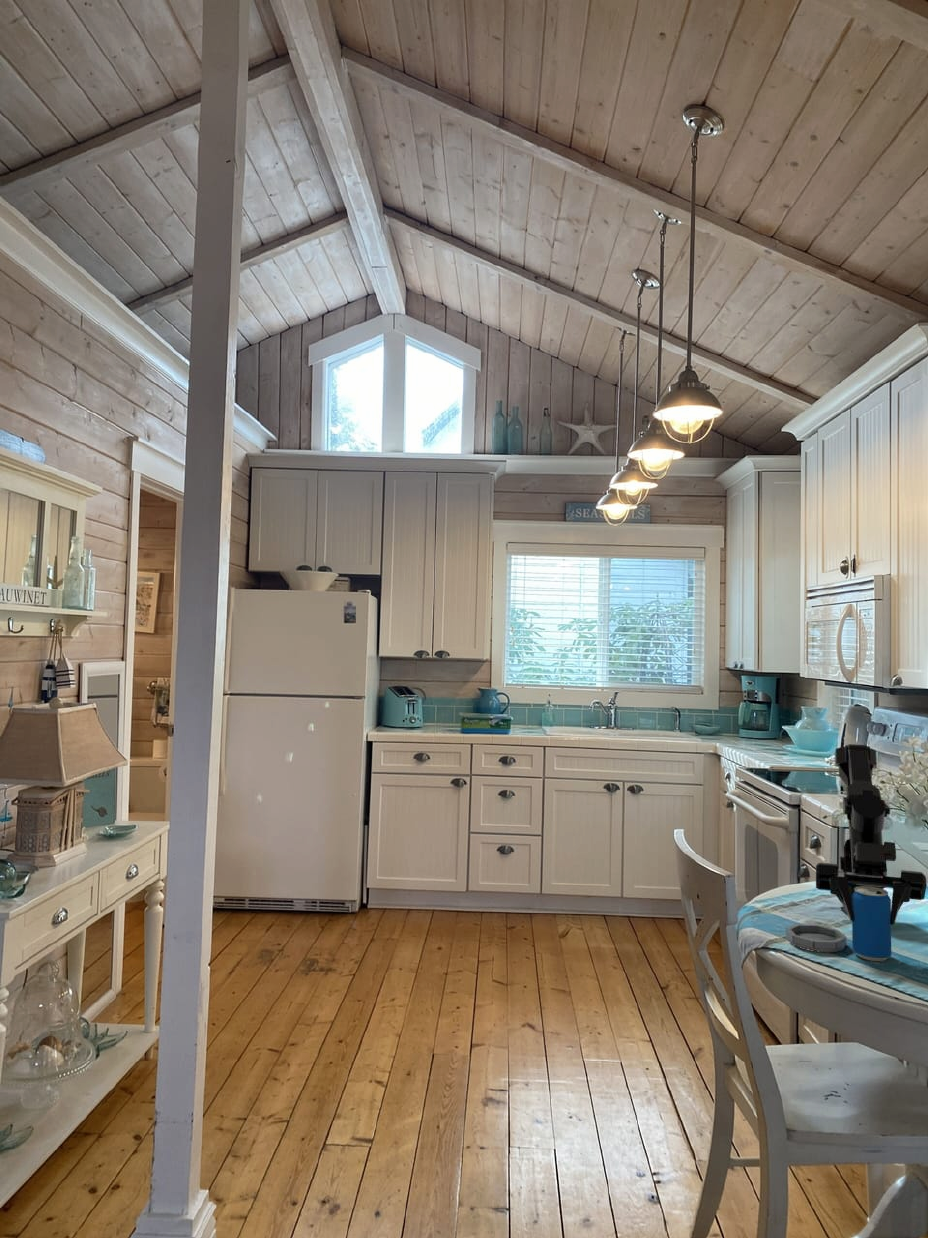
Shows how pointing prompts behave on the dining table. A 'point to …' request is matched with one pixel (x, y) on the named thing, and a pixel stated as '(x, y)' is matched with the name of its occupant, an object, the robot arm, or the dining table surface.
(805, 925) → the tray
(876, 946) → the beverage can
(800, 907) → the dining table surface
